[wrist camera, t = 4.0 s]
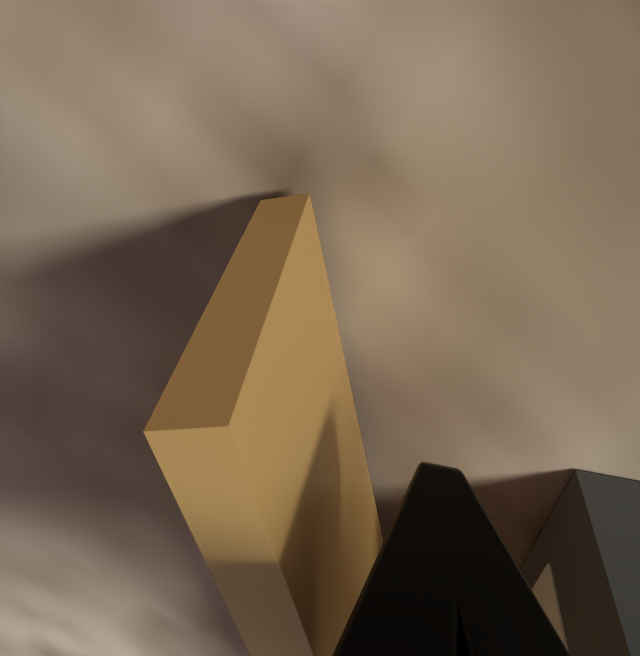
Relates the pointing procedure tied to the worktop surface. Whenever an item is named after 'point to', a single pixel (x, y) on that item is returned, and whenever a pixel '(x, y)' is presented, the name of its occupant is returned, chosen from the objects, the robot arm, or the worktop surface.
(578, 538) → the action camera body
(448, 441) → the worktop surface
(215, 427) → the side door
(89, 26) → the worktop surface
